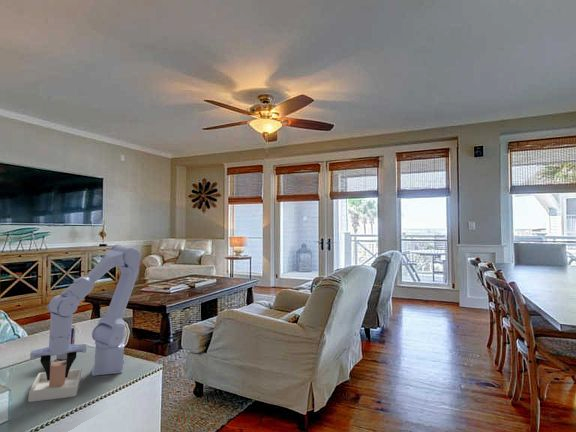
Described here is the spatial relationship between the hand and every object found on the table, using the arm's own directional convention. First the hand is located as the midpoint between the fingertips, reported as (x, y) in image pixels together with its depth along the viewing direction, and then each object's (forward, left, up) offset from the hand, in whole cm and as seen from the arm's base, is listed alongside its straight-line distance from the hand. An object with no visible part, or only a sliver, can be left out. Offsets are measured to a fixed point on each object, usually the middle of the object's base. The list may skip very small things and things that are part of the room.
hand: (57, 377), depth 109 cm
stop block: (0, 0, -2) cm, 2 cm away
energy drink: (+1, -22, -4) cm, 22 cm away
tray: (0, 0, -4) cm, 4 cm away
